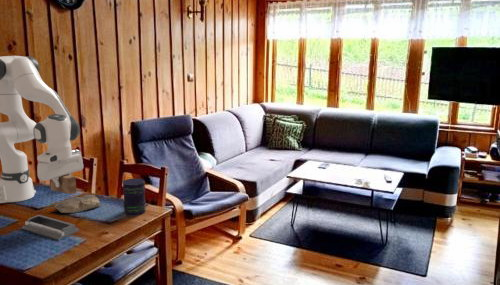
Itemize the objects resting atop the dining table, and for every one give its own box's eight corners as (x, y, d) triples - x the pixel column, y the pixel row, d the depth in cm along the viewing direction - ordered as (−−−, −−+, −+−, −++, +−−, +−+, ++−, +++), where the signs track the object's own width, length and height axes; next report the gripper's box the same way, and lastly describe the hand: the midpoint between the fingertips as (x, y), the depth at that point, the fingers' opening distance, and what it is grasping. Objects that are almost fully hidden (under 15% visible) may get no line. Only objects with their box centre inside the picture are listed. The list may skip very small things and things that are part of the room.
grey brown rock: (58, 217, 182) (103, 207, 194) (57, 207, 181) (102, 197, 193) (51, 208, 193) (94, 199, 205) (50, 199, 192) (93, 190, 204)
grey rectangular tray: (22, 228, 169) (21, 221, 168) (43, 220, 178) (42, 213, 177) (58, 240, 160) (57, 232, 159) (79, 230, 168) (78, 223, 168)
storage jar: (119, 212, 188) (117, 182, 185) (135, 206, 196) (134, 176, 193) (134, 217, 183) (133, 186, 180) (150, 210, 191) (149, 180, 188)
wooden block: (49, 190, 173) (47, 174, 172) (56, 188, 177) (55, 172, 175) (69, 195, 168) (67, 179, 167) (76, 192, 171) (75, 176, 170)
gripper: (75, 147, 180) (77, 177, 183) (33, 157, 162) (36, 190, 165) (85, 149, 177) (87, 179, 180) (44, 159, 159) (47, 193, 162)
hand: (63, 185), depth 172 cm, fingers closed on wooden block, 3 cm apart
